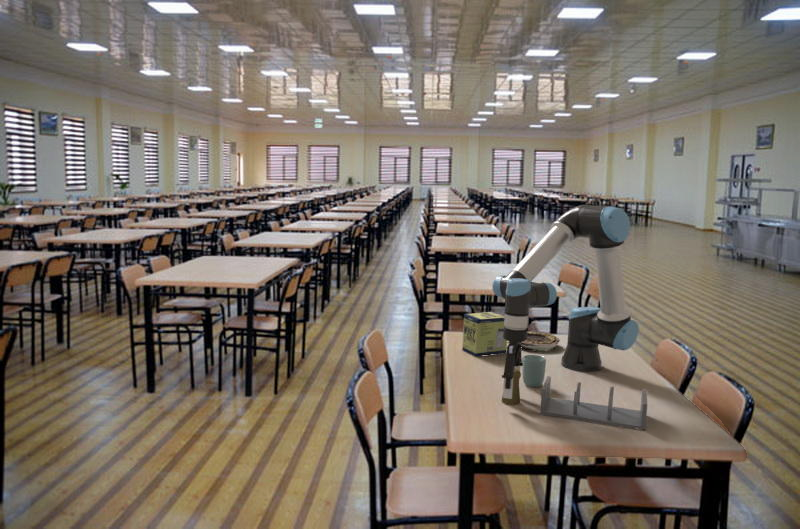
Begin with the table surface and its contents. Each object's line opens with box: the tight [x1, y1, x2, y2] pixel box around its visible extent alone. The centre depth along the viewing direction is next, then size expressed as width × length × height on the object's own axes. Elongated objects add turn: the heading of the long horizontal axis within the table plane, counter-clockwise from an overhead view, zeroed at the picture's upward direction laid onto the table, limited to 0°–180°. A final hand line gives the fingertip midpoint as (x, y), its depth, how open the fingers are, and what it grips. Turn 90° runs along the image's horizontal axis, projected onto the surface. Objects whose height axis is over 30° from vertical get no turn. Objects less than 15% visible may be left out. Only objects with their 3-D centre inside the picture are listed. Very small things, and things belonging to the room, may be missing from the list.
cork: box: [501, 368, 522, 406], centre depth 209 cm, size 6×6×11 cm
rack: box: [539, 375, 648, 430], centre depth 201 cm, size 30×14×8 cm, turn 71°
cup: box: [521, 354, 547, 388], centre depth 226 cm, size 8×8×10 cm
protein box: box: [461, 311, 508, 357], centre depth 266 cm, size 10×16×16 cm
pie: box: [507, 330, 561, 352], centre depth 279 cm, size 28×27×5 cm
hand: (511, 391), depth 209 cm, fingers open, 13 cm apart
